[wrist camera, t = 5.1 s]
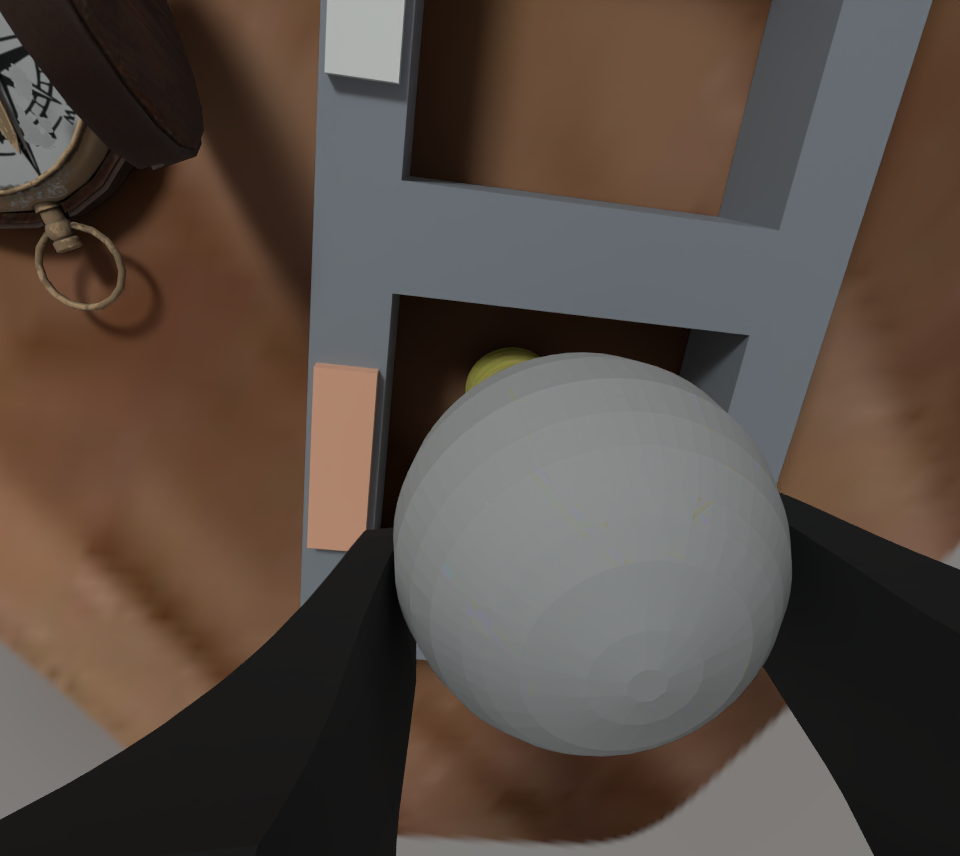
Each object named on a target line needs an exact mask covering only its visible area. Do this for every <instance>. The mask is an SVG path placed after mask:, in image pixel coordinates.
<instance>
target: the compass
mask: <svg viewBox="0 0 960 856" xmlns="http://www.w3.org/2000/svg"><path fill="white" fill-rule="evenodd" d="M203 131H204V129H203V118H202V108H201V104H200V100H199V96H198V92H197V88H196V84H195V81H194V77H193V73H192V70H191V68H190V65H189V62H188V59H187V56H186V53H185V50H184V47H183V44H182V41H181V38H180V35H179V33H178V30H177V27H176V25H175V22H174V19H173V17H172V14H171V11H170V9H169V6H168V4H167V1H166V0H0V229H12V228H40V227H45V232H44V233H43V235H42V237H41V238H40V240H39V242H38V244H37V245H36V248H35V267H36V270H37V273H38V275H39V278H40V281H41V282H42V284H43V285H44V286H45V287H46V289H47V290H48V291H49V292H50V294H51V295H52V296H53V297H55V298H56V299H58V300H59V301H61V302H62V303H64V304H65V305H67V306H69V307H73V308H76V309H80V310H84V311H91V310H100V309H104V308H106V307H107V306H109V305H110V304H112V303H114V302H115V301H117V299H118V297H119V296H120V294H121V292H122V291H123V289H124V287H125V277H126V269H125V266H124V263H123V259H122V256H121V253H120V252H119V251H118V249H117V248H116V247H115V245H114V244H113V243H112V241H111V240H110V239H109V238H108V237H107V236H105V235H104V234H102V233H101V232H99V231H98V230H97V229H95V228H94V227H91V226H87V225H84V224H80V223H77V222H71V221H70V220H69V219H72V218H75V217H78V216H81V215H84V214H87V213H89V212H91V211H92V210H93V209H94V208H96V207H97V206H98V205H99V204H101V203H102V202H103V201H104V200H106V199H107V198H108V197H109V196H111V195H112V194H113V193H114V192H116V191H117V190H118V189H119V188H120V187H121V185H122V183H123V182H124V180H125V178H126V177H127V175H128V174H129V172H130V170H131V169H132V167H133V166H135V167H136V168H138V169H143V168H146V167H150V166H151V167H152V170H157V169H160V168H163V167H166V166H169V165H172V164H175V163H178V162H181V161H184V160H187V159H190V158H193V157H196V156H197V154H198V151H199V149H200V146H201V144H202V143H201V137H202V134H203ZM76 230H79V231H83V232H86V233H90V234H92V235H93V236H95V237H96V238H97V239H99V240H100V241H102V242H103V243H104V244H105V245H106V246H107V248H108V249H109V250H110V252H111V253H112V254H113V256H114V258H115V261H116V265H117V268H118V280H117V286H116V287H115V289H114V291H113V292H112V294H111V296H110V297H108V298H106V299H105V300H103V301H101V302H100V303H92V304H84V303H80V302H76V301H72V300H70V299H69V298H67V297H66V296H64V295H62V294H61V293H59V292H58V291H57V290H56V288H55V287H54V286H53V285H52V283H51V282H50V281H49V280H48V278H47V275H46V272H45V269H44V266H43V251H44V248H45V247H46V245H47V243H48V241H49V239H51V240H52V241H54V243H53V246H54V248H55V250H56V251H57V252H58V253H64V252H67V251H71V250H74V249H77V248H80V247H82V245H83V243H82V241H81V239H80V237H79V236H77V235H75V234H76Z"/></svg>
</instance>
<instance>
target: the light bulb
mask: <svg viewBox="0 0 960 856" xmlns="http://www.w3.org/2000/svg"><path fill="white" fill-rule="evenodd" d="M393 542H394V564H395V583H396V589H397V595H398V600H399V604H400V607H401V610H402V614H403V616H404V619H405V621H406V623H407V626H408V628H409V630H410V632H411V634H412V635H413V637H414V639H415V641H416V642H417V644H418V646H419V648H420V650H421V651H422V653H423V655H424V657H425V658H426V660H427V662H428V663H429V665H430V667H431V669H432V670H433V671H434V672H435V674H436V675H437V676H438V678H439V679H440V680H441V681H442V682H443V684H444V685H445V686H446V687H447V688H448V689H449V690H450V691H451V692H452V693H453V694H454V695H455V696H456V697H457V698H458V699H459V700H460V701H461V702H462V703H463V704H464V705H465V706H466V707H467V708H468V709H469V710H470V711H472V712H473V713H474V714H475V715H476V716H478V717H479V718H480V719H482V720H483V721H485V722H486V723H488V724H489V725H491V726H493V727H495V728H497V729H499V730H500V731H502V732H504V733H507V734H509V735H511V736H513V737H516V738H518V739H520V740H522V741H525V742H527V743H530V744H532V745H534V746H537V747H540V748H543V749H547V750H550V751H555V752H559V753H564V754H572V755H584V756H613V755H625V754H632V753H636V752H640V751H645V750H649V749H653V748H657V747H659V746H662V745H665V744H667V743H670V742H673V741H676V740H678V739H680V738H682V737H684V736H686V735H688V734H690V733H692V732H694V731H696V730H697V729H699V728H700V727H702V726H703V725H705V724H706V723H708V722H709V721H711V720H713V719H714V718H716V717H717V716H718V715H719V714H720V713H722V712H723V711H724V710H725V709H726V708H727V707H728V706H729V705H730V704H732V703H733V702H734V701H735V700H736V699H737V698H738V697H739V696H740V695H741V694H742V692H743V691H744V690H745V689H746V688H747V687H748V685H749V684H750V683H751V682H752V681H753V679H754V678H755V677H756V675H757V674H758V672H759V671H760V670H761V668H762V667H763V665H764V663H765V661H766V660H767V658H768V656H769V654H770V652H771V650H772V648H773V645H774V643H775V641H776V638H777V635H778V632H779V629H780V626H781V624H782V621H783V618H784V615H785V612H786V609H787V605H788V601H789V596H790V591H791V582H792V558H791V542H790V533H789V525H788V520H787V516H786V512H785V509H784V506H783V503H782V500H781V497H780V495H779V492H778V489H777V486H776V483H775V481H774V478H773V475H772V473H771V470H770V468H769V465H768V463H767V461H766V460H765V458H764V456H763V454H762V452H761V450H760V449H759V448H758V446H757V445H756V443H755V442H754V440H753V439H752V438H751V436H750V435H749V434H748V433H747V432H746V431H745V430H744V429H743V428H742V427H741V425H740V424H739V423H737V422H736V421H735V420H734V419H733V418H732V417H731V416H730V415H729V414H728V413H727V412H726V411H725V410H723V409H722V408H721V407H720V406H719V405H718V404H717V403H716V402H715V401H714V400H713V399H711V398H710V397H709V396H708V395H707V394H706V393H704V392H703V391H702V390H701V389H699V388H698V387H696V386H695V385H693V384H692V383H690V382H689V381H687V380H685V379H683V378H681V377H680V376H678V375H676V374H674V373H672V372H669V371H667V370H664V369H662V368H659V367H657V366H653V365H649V364H646V363H642V362H639V361H635V360H631V359H627V358H623V357H619V356H614V355H608V354H602V353H587V352H580V353H563V354H555V355H549V356H544V357H540V356H539V355H537V354H535V353H533V352H532V351H529V350H526V349H523V348H517V347H507V348H501V349H497V350H494V351H492V352H490V353H488V354H486V355H484V356H483V357H482V358H481V359H479V360H478V361H477V362H476V364H475V365H474V366H473V367H472V369H471V371H470V373H469V375H468V377H467V381H466V388H465V394H464V395H463V396H462V397H460V398H459V399H458V400H457V401H456V402H455V403H454V404H453V405H452V406H451V407H450V408H449V409H448V410H447V411H446V412H445V413H444V414H443V415H442V416H441V417H440V419H439V420H438V421H437V422H436V423H435V425H434V426H433V427H432V429H431V430H430V432H429V433H428V435H427V436H426V438H425V439H424V441H423V443H422V445H421V447H420V449H419V450H418V452H417V454H416V456H415V459H414V461H413V463H412V465H411V467H410V469H409V471H408V473H407V476H406V478H405V481H404V483H403V485H402V488H401V492H400V495H399V498H398V502H397V507H396V512H395V518H394V531H393Z"/></svg>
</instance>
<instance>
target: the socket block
mask: <svg viewBox="0 0 960 856" xmlns="http://www.w3.org/2000/svg"><path fill="white" fill-rule="evenodd" d="M932 1H933V0H772V2H771V6H770V10H769V14H768V18H767V22H766V26H765V31H764V35H763V39H762V43H761V47H760V51H759V55H758V59H757V63H756V67H755V71H754V75H753V79H752V83H751V87H750V91H749V95H748V99H747V103H746V108H745V112H744V116H743V120H742V124H741V128H740V132H739V136H738V140H737V144H736V148H735V152H734V156H733V160H732V164H731V168H730V172H729V176H728V181H727V185H726V189H725V193H724V197H723V201H722V205H721V209H720V213H719V217H715V216H708V215H700V214H693V213H685V212H678V211H670V210H663V209H655V208H647V207H640V206H632V205H625V204H617V203H610V202H602V201H595V200H587V199H580V198H572V197H565V196H557V195H550V194H542V193H535V192H527V191H520V190H512V189H505V188H497V187H490V186H482V185H475V184H467V183H460V182H452V181H445V180H437V179H430V178H422V177H415V176H410V169H411V156H412V144H413V132H414V120H415V108H416V96H417V84H418V72H419V60H420V48H421V35H422V23H423V11H424V0H321V9H320V39H319V69H318V98H317V128H316V158H315V187H314V217H313V246H312V276H311V306H310V335H309V365H308V394H307V424H306V454H305V483H304V513H303V543H302V572H301V602H300V607H301V606H302V605H303V604H304V603H305V602H306V601H307V600H308V598H309V597H310V596H311V595H312V594H313V593H314V591H315V590H316V589H317V588H318V587H319V586H320V584H321V583H322V582H323V581H324V580H325V579H326V577H327V576H328V575H329V574H330V573H331V571H332V570H333V569H334V568H335V566H336V565H337V564H338V563H339V561H340V560H341V559H342V558H343V556H344V555H345V554H346V553H347V551H348V550H349V549H350V548H351V546H352V545H353V544H354V543H355V541H356V540H357V539H358V538H359V537H360V535H361V534H362V533H363V532H364V531H365V530H373V529H381V519H382V507H383V495H384V483H385V471H386V459H387V447H388V435H389V423H390V410H391V398H392V386H393V374H394V362H395V350H396V338H397V326H398V314H399V302H400V294H402V295H410V296H419V297H427V298H436V299H444V300H453V301H461V302H470V303H478V304H487V305H496V306H504V307H513V308H521V309H530V310H538V311H547V312H555V313H564V314H572V315H581V316H589V317H598V318H606V319H615V320H624V321H632V322H641V323H649V324H658V325H666V326H675V327H683V328H691V331H690V335H689V339H688V343H687V347H686V351H685V355H684V359H683V363H682V367H681V371H680V375H679V376H680V377H681V378H683V379H685V380H687V381H689V382H690V383H692V384H693V385H695V386H696V387H698V388H699V389H701V390H702V391H703V392H704V393H706V394H707V395H708V396H709V397H710V398H711V399H713V400H714V401H715V402H716V403H717V404H718V405H719V406H720V407H721V408H722V409H723V410H725V411H726V412H727V413H728V414H729V415H730V416H731V417H732V418H733V419H734V420H735V421H736V422H737V423H739V424H740V425H741V427H742V428H743V429H744V430H745V431H746V432H747V433H748V434H749V435H750V436H751V438H752V439H753V440H754V442H755V443H756V445H757V446H758V448H759V449H760V450H761V452H762V454H763V456H764V458H765V460H766V461H767V463H768V465H769V468H770V470H771V473H772V475H773V478H774V481H775V483H776V485H777V481H778V478H779V475H780V472H781V469H782V466H783V463H784V460H785V457H786V454H787V450H788V447H789V444H790V441H791V438H792V435H793V432H794V429H795V426H796V423H797V419H798V416H799V413H800V410H801V407H802V404H803V401H804V398H805V395H806V392H807V388H808V385H809V382H810V379H811V376H812V373H813V370H814V367H815V364H816V361H817V357H818V354H819V351H820V348H821V345H822V342H823V339H824V336H825V333H826V329H827V326H828V323H829V320H830V317H831V314H832V311H833V308H834V305H835V302H836V298H837V295H838V292H839V289H840V286H841V283H842V280H843V277H844V274H845V271H846V267H847V264H848V261H849V258H850V255H851V252H852V249H853V246H854V243H855V240H856V236H857V233H858V230H859V227H860V224H861V221H862V218H863V215H864V212H865V209H866V205H867V202H868V199H869V196H870V193H871V190H872V187H873V184H874V181H875V178H876V174H877V171H878V168H879V165H880V162H881V159H882V156H883V153H884V150H885V147H886V143H887V140H888V137H889V134H890V131H891V128H892V125H893V122H894V119H895V116H896V112H897V109H898V106H899V103H900V100H901V97H902V94H903V91H904V88H905V85H906V81H907V78H908V75H909V72H910V69H911V66H912V63H913V60H914V57H915V54H916V50H917V47H918V44H919V41H920V38H921V35H922V32H923V29H924V26H925V23H926V19H927V16H928V13H929V10H930V7H931V4H932ZM416 659H418V660H426V658H425V657H424V655H423V653H422V651H421V650H420V648H419V646H418V644H417V642H416Z"/></svg>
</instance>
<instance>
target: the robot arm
mask: <svg viewBox="0 0 960 856" xmlns="http://www.w3.org/2000/svg"><path fill="white" fill-rule="evenodd" d="M779 495H780V497H781V500H782V503H783V506H784V509H785V512H786V516H787V520H788V525H789V533H790V542H791V558H792V582H791V591H790V596H789V601H788V605H787V609H786V612H785V615H784V618H783V621H782V624H781V626H780V629H779V632H778V635H777V638H776V641H775V643H774V645H773V648H772V650H771V652H770V654H769V656H768V658H767V660H766V661H765V663H764V665H763V667H764V669H765V670H766V672H767V674H768V675H769V677H770V678H771V680H772V682H773V683H774V685H775V686H776V688H777V690H778V691H779V693H780V694H781V696H782V697H783V699H784V700H785V702H786V704H787V705H788V707H789V708H790V710H791V711H792V713H793V715H794V716H795V718H796V719H797V721H798V722H799V724H800V725H801V727H802V729H803V730H804V732H805V733H806V735H807V736H808V738H809V739H810V741H811V743H812V744H813V746H814V747H815V749H816V750H817V752H818V753H819V755H820V757H821V758H822V760H823V761H824V763H825V765H826V766H827V768H828V770H829V771H830V773H831V774H832V776H833V778H834V780H835V782H836V783H837V785H838V787H839V789H840V790H841V792H842V794H843V795H844V797H845V799H846V801H847V803H848V805H849V807H850V809H851V811H852V813H853V815H854V817H855V819H856V821H857V823H858V825H859V827H860V829H861V831H862V833H863V835H864V837H865V838H866V841H867V843H868V844H869V846H870V849H871V851H872V852H873V854H874V856H960V570H959V569H957V568H954V567H952V566H949V565H947V564H944V563H942V562H939V561H937V560H934V559H932V558H929V557H927V556H924V555H921V554H919V553H916V552H914V551H912V550H909V549H907V548H905V547H902V546H900V545H898V544H895V543H893V542H891V541H888V540H886V539H884V538H881V537H879V536H877V535H875V534H872V533H870V532H868V531H866V530H863V529H861V528H859V527H857V526H855V525H852V524H850V523H848V522H846V521H844V520H841V519H839V518H837V517H835V516H833V515H830V514H828V513H826V512H824V511H822V510H820V509H817V508H815V507H813V506H811V505H808V504H806V503H804V502H801V501H799V500H797V499H794V498H792V497H790V496H787V495H784V494H782V493H779ZM393 531H394V527H393V528H383V529H373V530H365V531H364V532H363V533H362V534H361V535H360V537H359V538H358V539H357V540H356V541H355V543H354V544H353V545H352V546H351V548H350V549H349V550H348V551H347V553H346V554H345V555H344V556H343V558H342V559H341V560H340V561H339V563H338V564H337V565H336V566H335V568H334V569H333V570H332V571H331V573H330V574H329V575H328V576H327V577H326V579H325V580H324V581H323V582H322V583H321V584H320V586H319V587H318V588H317V589H316V590H315V591H314V593H313V594H312V595H311V596H310V597H309V598H308V600H307V601H306V602H305V603H304V604H303V605H302V606H301V607H300V608H299V609H298V611H297V612H296V613H295V614H294V615H293V616H292V617H291V618H290V619H289V620H288V621H287V622H286V623H285V624H284V625H283V626H282V627H281V628H280V629H279V630H278V631H277V632H276V634H275V635H273V636H272V637H271V638H270V639H269V640H268V641H267V642H266V643H265V644H264V645H263V646H262V647H261V648H260V649H259V650H257V651H256V652H255V653H254V654H253V655H252V656H251V657H250V658H248V659H247V660H246V661H245V662H244V663H243V664H241V665H240V666H239V667H238V668H237V669H236V670H234V671H233V672H232V673H231V674H230V675H229V676H227V677H226V678H225V679H224V680H222V681H221V682H220V683H219V684H217V685H216V686H215V687H214V688H212V689H211V690H209V691H208V692H207V693H205V694H204V695H203V696H201V697H200V698H199V699H197V700H196V701H194V702H193V703H192V704H190V705H189V706H188V707H186V708H185V709H184V710H182V711H181V712H179V713H178V714H177V715H175V716H174V717H173V718H171V719H170V720H169V721H167V722H166V723H165V724H163V725H162V726H160V727H159V728H157V729H156V730H154V731H153V732H151V733H150V734H148V735H147V736H145V737H144V738H142V739H140V740H139V741H137V742H136V743H134V744H133V745H131V746H130V747H128V748H127V749H125V750H123V751H122V752H120V753H118V754H117V755H115V756H114V757H112V758H110V759H109V760H107V761H105V762H104V763H102V764H100V765H99V766H97V767H96V768H94V769H92V770H91V771H89V772H87V773H85V774H84V775H82V776H80V777H79V778H77V779H75V780H73V781H72V782H70V783H68V784H66V785H65V786H63V787H61V788H59V789H57V790H55V791H53V792H51V793H50V794H48V795H46V796H44V797H42V798H40V799H38V800H36V801H34V802H33V803H31V804H29V805H27V806H25V807H23V808H21V809H19V810H17V811H16V812H14V813H12V814H10V815H8V816H6V817H4V818H2V819H1V820H0V856H396V841H397V830H398V819H399V809H400V801H401V793H402V786H403V778H404V771H405V763H406V756H407V748H408V740H409V733H410V725H411V717H412V710H413V702H414V694H415V686H416V641H415V639H414V637H413V635H412V634H411V632H410V630H409V628H408V626H407V623H406V621H405V619H404V616H403V614H402V610H401V607H400V604H399V600H398V595H397V589H396V583H395V564H394V542H393Z"/></svg>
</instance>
